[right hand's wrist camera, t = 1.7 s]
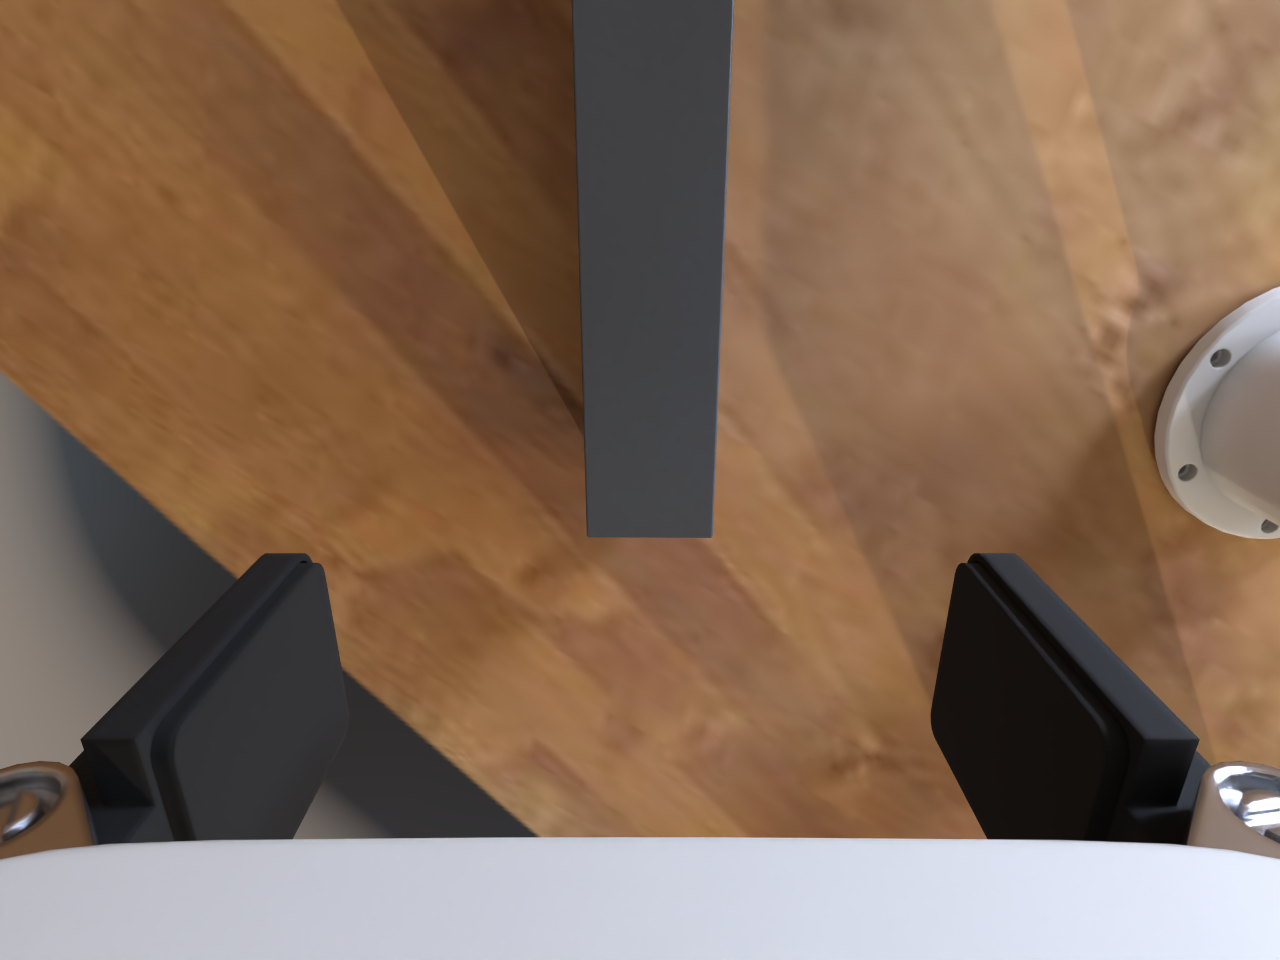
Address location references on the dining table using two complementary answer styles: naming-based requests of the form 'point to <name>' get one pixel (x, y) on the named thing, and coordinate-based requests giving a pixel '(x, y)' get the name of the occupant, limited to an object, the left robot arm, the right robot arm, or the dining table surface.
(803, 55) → the dining table surface
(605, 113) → the beam
